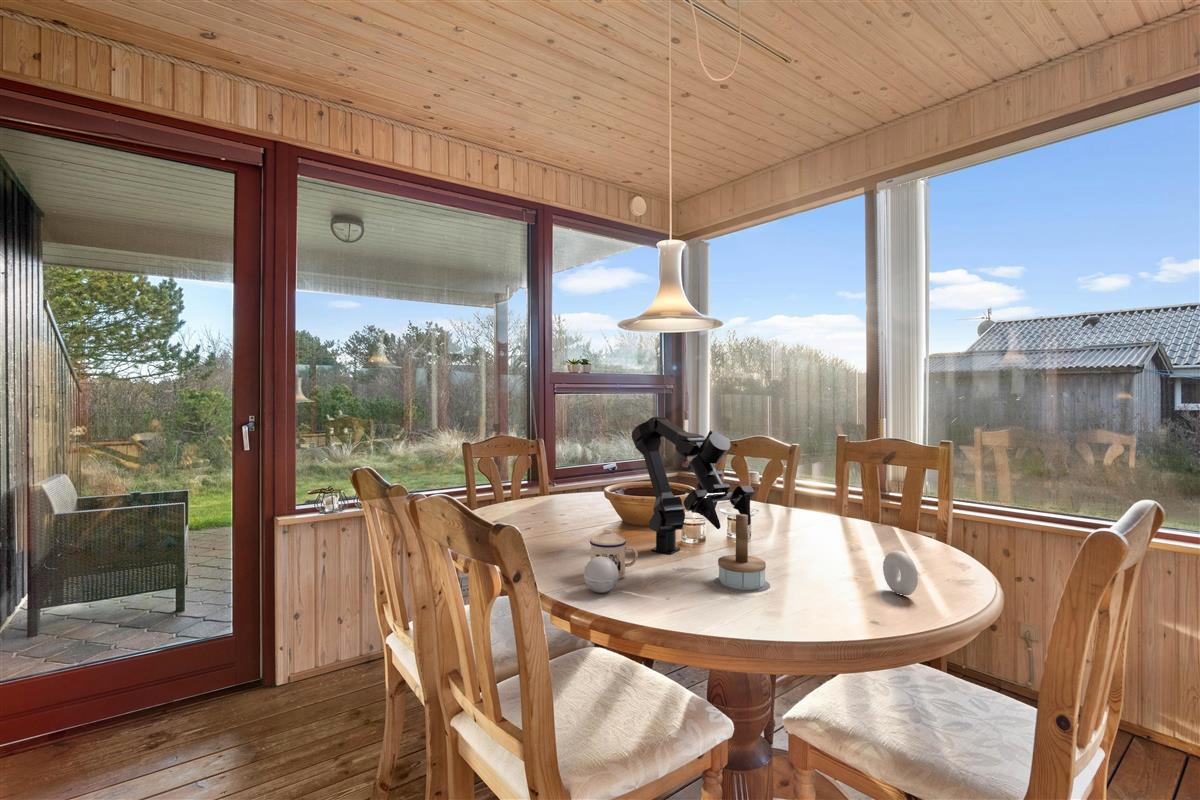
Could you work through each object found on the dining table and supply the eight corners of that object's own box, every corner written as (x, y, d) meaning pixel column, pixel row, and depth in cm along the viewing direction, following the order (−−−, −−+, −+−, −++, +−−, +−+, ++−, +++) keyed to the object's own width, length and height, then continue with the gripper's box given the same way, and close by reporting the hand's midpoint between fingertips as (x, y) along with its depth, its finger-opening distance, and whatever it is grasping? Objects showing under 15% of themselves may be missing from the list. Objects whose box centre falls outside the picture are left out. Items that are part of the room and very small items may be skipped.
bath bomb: (620, 587, 133) (620, 553, 133) (615, 598, 125) (616, 562, 125) (587, 585, 134) (587, 551, 134) (580, 596, 126) (580, 560, 126)
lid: (717, 557, 141) (718, 509, 141) (763, 560, 139) (763, 511, 139) (718, 570, 130) (718, 519, 130) (767, 574, 128) (768, 521, 128)
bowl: (729, 574, 142) (729, 557, 142) (769, 581, 136) (769, 564, 136) (713, 585, 133) (713, 567, 133) (755, 593, 128) (755, 574, 128)
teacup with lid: (588, 581, 137) (588, 533, 137) (590, 569, 146) (591, 524, 146) (637, 582, 137) (638, 533, 137) (637, 570, 146) (637, 525, 146)
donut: (879, 587, 133) (879, 545, 133) (893, 587, 134) (893, 545, 134) (906, 603, 123) (906, 557, 123) (921, 602, 124) (921, 556, 124)
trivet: (725, 573, 144) (725, 571, 144) (777, 582, 136) (777, 581, 136) (705, 587, 133) (705, 585, 133) (759, 598, 126) (759, 596, 126)
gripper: (722, 490, 156) (748, 540, 146) (664, 495, 148) (688, 548, 138) (741, 465, 149) (770, 516, 139) (682, 469, 141) (708, 523, 131)
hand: (734, 526), depth 137 cm, fingers open, 9 cm apart
